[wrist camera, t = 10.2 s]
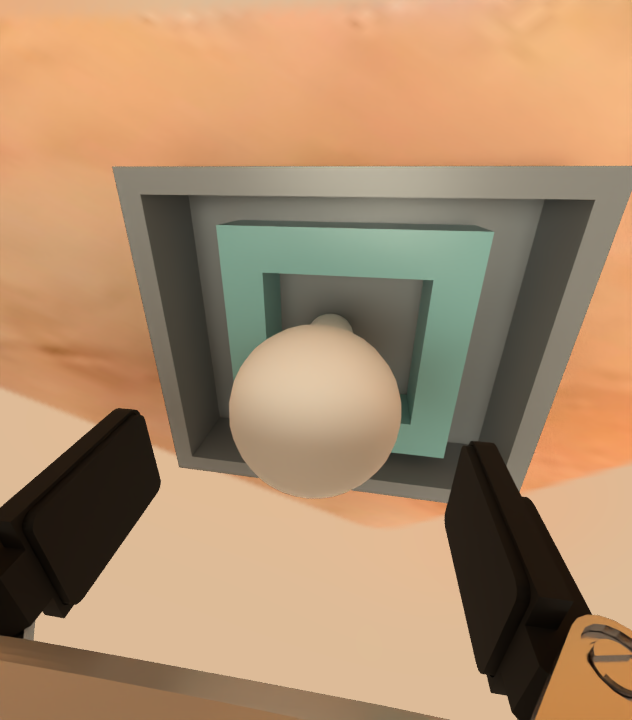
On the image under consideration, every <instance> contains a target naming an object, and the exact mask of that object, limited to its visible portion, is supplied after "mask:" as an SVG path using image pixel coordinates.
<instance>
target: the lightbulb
mask: <svg viewBox="0 0 632 720" xmlns="http://www.w3.org/2000/svg"><path fill="white" fill-rule="evenodd" d="M229 418H230V429H231V432H232V436H233V439H234V442H235V444H236V446H237V448H238V450H239V452H240V454H241V456H242V458H243V460H244V461H245V462H246V464H247V465H248V466H249V467H250V469H251V470H252V471H253V472H254V473H255V474H256V475H257V476H258V477H259V478H260V479H261V480H262V481H264V482H265V483H267V484H268V485H270V486H271V487H273V488H275V489H277V490H279V491H281V492H283V493H286V494H289V495H293V496H296V497H302V498H315V499H320V498H328V497H333V496H337V495H340V494H343V493H346V492H348V491H350V490H352V489H354V488H356V487H358V486H360V485H362V484H363V483H364V482H366V481H367V480H368V479H370V478H371V477H372V476H373V475H374V474H375V473H376V472H377V471H378V470H379V469H380V468H381V467H382V465H383V464H384V463H385V462H386V461H387V459H388V457H389V455H390V453H391V451H392V449H393V447H394V445H395V442H396V440H397V436H398V432H399V428H400V422H401V399H400V394H399V390H398V386H397V382H396V379H395V377H394V375H393V373H392V371H391V369H390V367H389V366H388V364H387V363H386V362H385V360H384V359H383V358H382V357H381V355H380V354H379V353H378V352H377V350H376V349H375V348H374V347H373V346H371V345H370V344H369V343H368V342H366V341H365V340H364V339H363V338H361V337H359V336H357V335H355V334H354V333H353V330H352V327H351V325H350V324H349V322H348V321H347V320H346V319H345V318H343V317H341V316H340V315H337V314H323V315H321V316H319V317H317V318H316V319H314V321H313V322H312V323H311V324H310V325H300V326H296V327H292V328H288V329H286V330H284V331H282V332H279V333H277V334H275V335H273V336H272V337H270V338H268V339H266V340H265V341H264V342H262V343H261V344H260V345H259V346H257V347H256V348H255V349H254V350H253V351H252V352H251V354H250V355H249V356H248V357H247V359H246V360H245V361H244V363H243V364H242V366H241V367H240V369H239V371H238V373H237V375H236V378H235V380H234V383H233V387H232V391H231V396H230V401H229Z"/></svg>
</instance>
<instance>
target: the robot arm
mask: <svg viewBox="0 0 632 720" xmlns="http://www.w3.org/2000/svg"><path fill="white" fill-rule="evenodd" d="M160 483H161V480H160V476H159V472H158V468H157V464H156V460H155V457H154V453H153V449H152V445H151V441H150V437H149V434H148V430H147V426H146V422H145V419H144V417H143V416H142V415H140V413H139V412H138V411H137V410H132V409H121V408H118V409H115V410H113V411H112V412H111V413H110V414H109V415H107V416H106V417H105V418H104V419H103V420H102V421H100V422H99V423H98V424H97V425H96V426H95V427H93V428H92V429H91V430H90V431H89V432H88V433H86V434H85V435H84V436H83V437H82V438H81V439H80V440H78V441H77V442H76V443H75V444H74V445H73V446H71V447H70V448H69V449H68V450H67V451H66V452H64V453H63V454H62V455H61V456H60V457H59V458H57V459H56V460H55V461H54V462H53V463H52V464H50V465H49V466H48V467H47V468H46V469H45V470H43V471H42V472H41V473H40V474H39V475H38V476H36V477H35V478H34V479H33V480H32V481H31V482H30V483H28V484H27V485H26V486H25V487H24V488H23V489H22V490H20V491H19V492H18V493H17V494H15V495H14V496H13V497H12V498H11V499H10V500H8V501H7V502H6V503H5V504H4V505H3V506H2V507H1V508H0V720H448V719H443V718H438V717H434V716H429V715H424V714H420V713H415V712H410V711H406V710H401V709H396V708H391V707H387V706H382V705H377V704H371V703H366V702H361V701H356V700H351V699H345V698H340V697H335V696H330V695H325V694H319V693H314V692H309V691H303V690H298V689H293V688H287V687H282V686H278V685H272V684H267V683H262V682H256V681H251V680H246V679H240V678H235V677H230V676H224V675H219V674H214V673H208V672H203V671H197V670H192V669H186V668H181V667H176V666H170V665H165V664H160V663H154V662H149V661H143V660H138V659H132V658H126V657H121V656H116V655H110V654H105V653H99V652H94V651H88V650H82V649H77V648H71V647H66V646H60V645H54V644H48V643H43V642H38V641H33V639H34V628H35V620H36V618H37V617H38V616H39V615H40V613H41V612H42V611H43V613H44V614H45V615H49V616H55V617H60V618H65V617H66V615H67V614H68V612H69V611H70V610H71V608H72V607H73V605H76V604H78V603H79V602H80V601H81V600H82V599H83V598H84V597H85V595H86V594H87V592H88V591H89V589H90V588H91V587H92V585H93V584H94V582H95V581H96V580H97V578H98V577H99V575H100V574H101V572H102V571H103V570H104V568H105V566H106V565H107V564H108V562H109V561H110V559H111V558H112V557H113V555H114V553H115V552H116V551H117V549H118V548H119V547H120V545H121V544H122V542H123V541H124V540H125V538H126V537H127V535H128V534H129V532H130V531H131V530H132V528H133V527H134V525H135V524H136V522H137V521H138V520H139V518H140V517H141V515H142V514H143V513H144V511H145V510H146V508H147V507H148V505H149V504H150V502H151V501H152V499H153V498H154V497H155V495H156V494H157V492H158V491H159V488H160ZM445 528H446V533H447V537H448V541H449V546H450V550H451V555H452V559H453V563H454V568H455V572H456V576H457V581H458V586H459V589H460V594H461V599H462V603H463V607H464V611H465V616H466V621H467V625H468V629H469V634H470V638H471V643H472V647H473V652H474V655H475V660H476V664H477V668H478V670H479V672H480V673H481V674H486V675H487V678H488V682H489V687H490V691H491V693H495V694H501V695H507V696H508V700H509V704H510V707H511V711H512V713H513V714H514V715H515V716H516V717H517V720H632V631H631V630H630V629H629V628H626V627H625V626H623V625H621V624H619V623H618V622H616V621H614V620H611V619H609V618H606V617H602V616H599V615H592V614H591V612H590V610H589V608H588V606H587V604H586V602H585V600H584V598H583V597H582V595H581V593H580V591H579V589H578V587H577V585H576V583H575V581H574V579H573V577H572V576H571V574H570V572H569V570H568V568H567V566H566V564H565V562H564V560H563V559H562V557H561V555H560V553H559V551H558V549H557V547H556V545H555V543H554V542H553V539H552V538H551V536H550V534H549V532H548V530H547V528H546V526H545V524H544V522H543V521H542V519H541V517H540V515H539V513H538V511H537V509H536V507H535V505H534V504H533V502H532V501H531V500H530V499H529V498H527V497H522V496H521V494H520V492H519V490H518V488H517V486H516V484H515V482H514V480H513V478H512V476H511V474H510V472H509V470H508V468H507V466H506V464H505V462H504V460H503V458H502V456H501V454H500V452H499V450H498V448H497V446H496V445H495V444H494V443H491V442H480V441H470V443H469V445H468V446H465V445H464V446H462V448H461V452H460V456H459V460H458V464H457V468H456V472H455V476H454V480H453V484H452V488H451V492H450V496H449V500H448V504H447V508H446V512H445Z"/></svg>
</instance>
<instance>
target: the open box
mask: <svg viewBox="0 0 632 720" xmlns="http://www.w3.org/2000/svg"><path fill="white" fill-rule="evenodd" d="M112 168H113V173H114V177H115V182H116V186H117V191H118V195H119V200H120V204H121V209H122V213H123V218H124V222H125V226H126V231H127V235H128V240H129V244H130V249H131V253H132V258H133V262H134V267H135V271H136V276H137V280H138V285H139V289H140V294H141V298H142V303H143V307H144V312H145V316H146V321H147V325H148V330H149V334H150V339H151V343H152V348H153V352H154V356H155V361H156V365H157V370H158V374H159V379H160V383H161V388H162V392H163V397H164V401H165V406H166V410H167V415H168V419H169V424H170V428H171V433H172V437H173V442H174V446H175V451H176V455H177V460H178V464H179V467H181V468H188V469H197V470H203V471H211V472H218V473H226V474H233V475H241V476H248V477H256V478H259V477H258V476H257V475H256V474H255V473H254V472H253V471H252V470H251V469H250V467H249V466H248V465H247V464H246V462H245V461H244V460H243V458H242V456H241V454H240V452H239V450H238V448H237V446H236V444H235V442H234V439H233V436H232V432H231V429H230V418H229V401H230V396H231V391H232V387H233V383H234V380H235V378H236V375H237V373H238V371H239V369H240V367H241V366H242V364H243V363H244V361H245V360H246V359H247V357H248V356H249V355H250V354H251V352H252V351H253V350H254V349H255V348H256V347H257V346H259V345H260V344H261V343H262V342H264V341H265V340H266V339H268V338H270V337H272V336H273V335H275V334H277V333H279V332H282V331H284V330H286V329H288V328H292V327H296V326H300V325H310V324H311V323H312V322H313V321H314V319H316V318H317V317H319V316H321V315H323V314H337V315H340V316H341V317H343V318H345V319H346V320H347V321H348V322H349V324H350V325H351V327H352V330H353V333H354V334H355V335H357V336H359V337H361V338H363V339H364V340H365V341H366V342H368V343H369V344H370V345H371V346H373V347H374V348H375V349H376V350H377V352H378V353H379V354H380V355H381V357H382V358H383V359H384V360H385V362H386V363H387V364H388V366H389V367H390V369H391V371H392V373H393V375H394V377H395V379H396V382H397V386H398V390H399V394H400V399H401V422H400V428H399V432H398V436H397V440H396V442H395V445H394V447H393V449H392V451H391V453H390V455H389V457H388V459H387V461H386V462H385V463H384V464H383V465H382V467H381V468H380V469H379V470H378V471H377V472H376V473H375V474H374V475H373V476H372V477H371V478H370V479H368V480H367V481H366V482H364V483H363V484H362V485H360V486H358V487H356V488H354V489H352V490H353V491H360V492H368V493H375V494H383V495H390V496H398V497H405V498H413V499H420V500H428V501H435V502H443V503H448V500H449V496H450V492H451V488H452V484H453V480H454V476H455V472H456V468H457V464H458V460H459V456H460V452H461V448H462V446H464V445H465V446H468V445H469V443H470V441H480V442H491V443H494V444H495V445H496V446H497V448H498V450H499V452H500V454H501V456H502V458H503V460H504V462H505V464H506V466H507V468H508V470H509V472H510V474H511V476H512V478H513V480H514V482H515V484H516V486H517V488H518V490H519V491H520V489H521V486H522V483H523V481H524V478H525V475H526V473H527V470H528V467H529V465H530V462H531V459H532V457H533V454H534V451H535V449H536V446H537V443H538V440H539V438H540V435H541V432H542V430H543V427H544V424H545V422H546V419H547V416H548V414H549V411H550V408H551V406H552V403H553V400H554V398H555V395H556V392H557V390H558V387H559V384H560V382H561V379H562V376H563V373H564V371H565V368H566V365H567V363H568V360H569V357H570V355H571V352H572V349H573V347H574V344H575V341H576V339H577V336H578V333H579V331H580V328H581V325H582V323H583V320H584V317H585V314H586V312H587V309H588V306H589V304H590V301H591V298H592V296H593V293H594V290H595V288H596V285H597V282H598V280H599V277H600V274H601V272H602V269H603V266H604V264H605V261H606V258H607V256H608V253H609V250H610V247H611V245H612V242H613V239H614V237H615V234H616V231H617V229H618V226H619V223H620V221H621V218H622V215H623V213H624V210H625V207H626V205H627V202H628V199H629V197H630V194H631V191H632V166H249V167H112Z"/></svg>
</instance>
